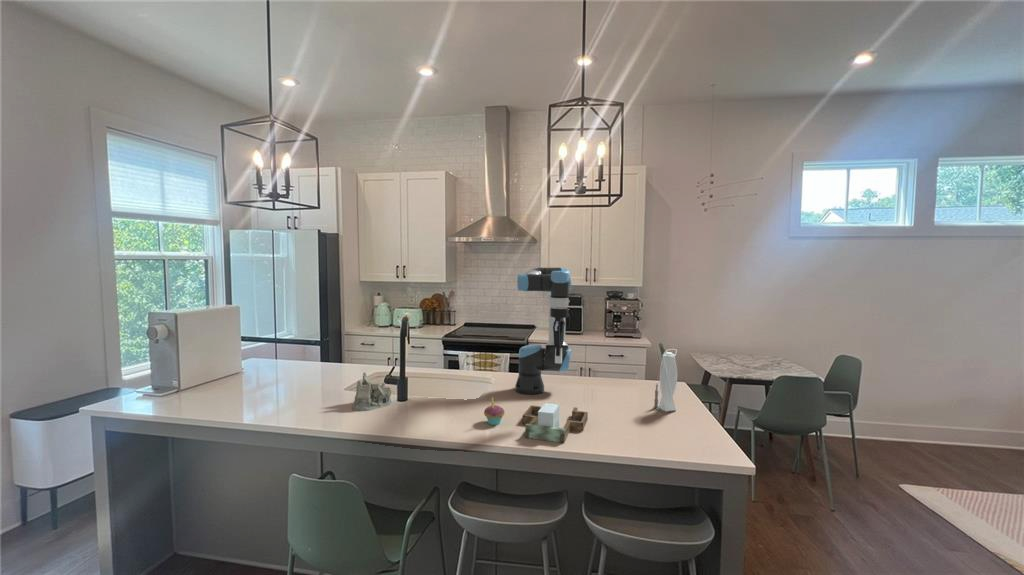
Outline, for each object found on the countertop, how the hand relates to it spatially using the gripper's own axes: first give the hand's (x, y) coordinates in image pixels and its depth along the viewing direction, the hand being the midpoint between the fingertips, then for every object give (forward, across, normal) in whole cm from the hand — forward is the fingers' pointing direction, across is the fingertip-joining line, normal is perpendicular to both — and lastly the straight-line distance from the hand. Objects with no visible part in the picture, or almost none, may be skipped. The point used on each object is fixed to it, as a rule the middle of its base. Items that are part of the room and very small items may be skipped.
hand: (558, 362), depth 182 cm
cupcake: (+25, -13, +24) cm, 37 cm away
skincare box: (+25, -16, 0) cm, 29 cm away
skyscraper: (+25, +28, -45) cm, 58 cm away
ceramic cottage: (+25, -12, +85) cm, 89 cm away
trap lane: (+24, -8, 0) cm, 26 cm away
